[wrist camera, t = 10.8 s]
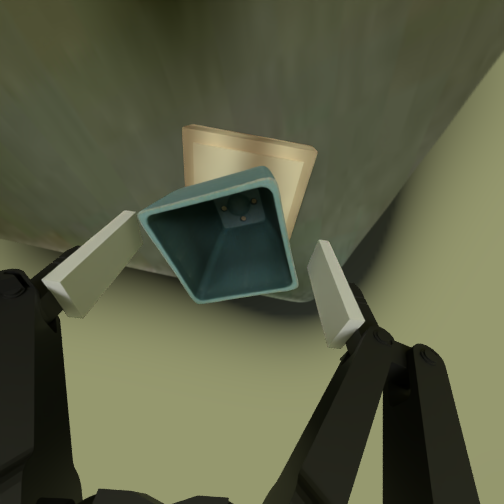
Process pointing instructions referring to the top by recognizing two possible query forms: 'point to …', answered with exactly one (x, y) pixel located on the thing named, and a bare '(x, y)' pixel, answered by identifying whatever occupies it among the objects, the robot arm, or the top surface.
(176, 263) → the flower pot
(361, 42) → the top surface
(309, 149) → the oak stand
